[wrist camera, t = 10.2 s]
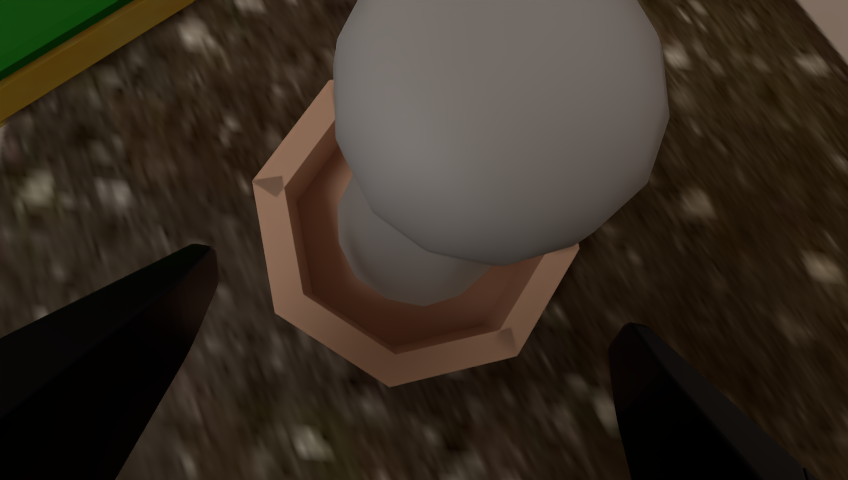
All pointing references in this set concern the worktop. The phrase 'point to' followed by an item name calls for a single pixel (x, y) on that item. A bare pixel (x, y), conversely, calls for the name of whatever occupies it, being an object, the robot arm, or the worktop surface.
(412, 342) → the pink octagonal dish
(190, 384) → the worktop surface
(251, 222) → the worktop surface
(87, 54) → the dish sponge
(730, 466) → the robot arm
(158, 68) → the worktop surface
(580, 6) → the salt shaker
